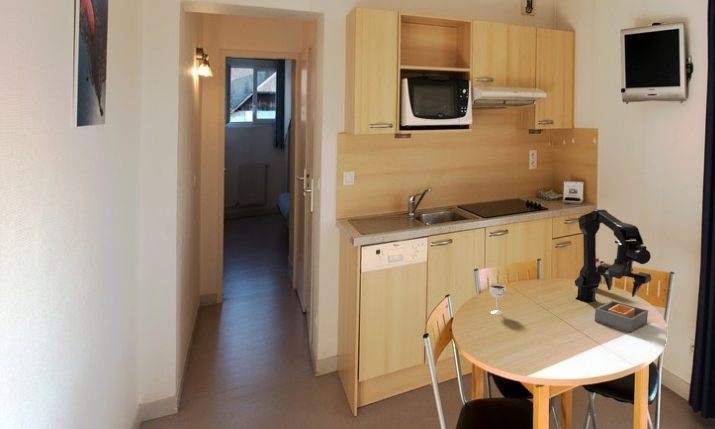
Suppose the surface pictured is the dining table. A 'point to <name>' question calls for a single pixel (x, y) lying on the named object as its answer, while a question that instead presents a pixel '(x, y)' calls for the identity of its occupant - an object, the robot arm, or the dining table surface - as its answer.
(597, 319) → the grey open box
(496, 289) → the wineglass
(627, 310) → the orange crate
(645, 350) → the dining table surface
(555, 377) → the dining table surface
